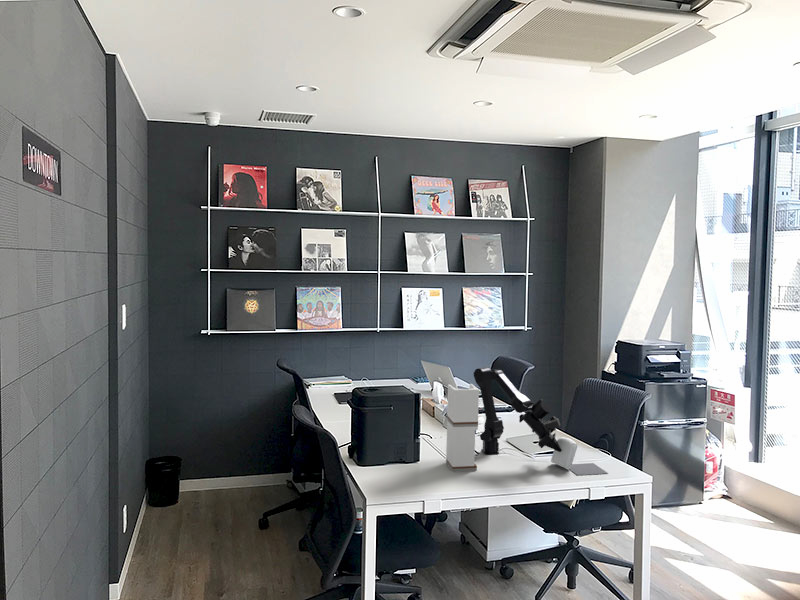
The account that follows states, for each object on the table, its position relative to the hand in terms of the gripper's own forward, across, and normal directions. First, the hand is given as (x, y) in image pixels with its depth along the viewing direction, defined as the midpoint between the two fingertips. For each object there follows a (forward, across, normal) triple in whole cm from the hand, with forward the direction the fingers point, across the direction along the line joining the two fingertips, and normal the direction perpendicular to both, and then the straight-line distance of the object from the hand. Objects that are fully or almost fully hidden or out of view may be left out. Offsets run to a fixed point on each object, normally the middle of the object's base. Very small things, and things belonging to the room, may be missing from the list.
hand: (560, 451), depth 291 cm
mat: (+13, +2, -2) cm, 13 cm away
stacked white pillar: (-24, -14, +34) cm, 44 cm away
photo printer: (+5, 0, +5) cm, 7 cm away
